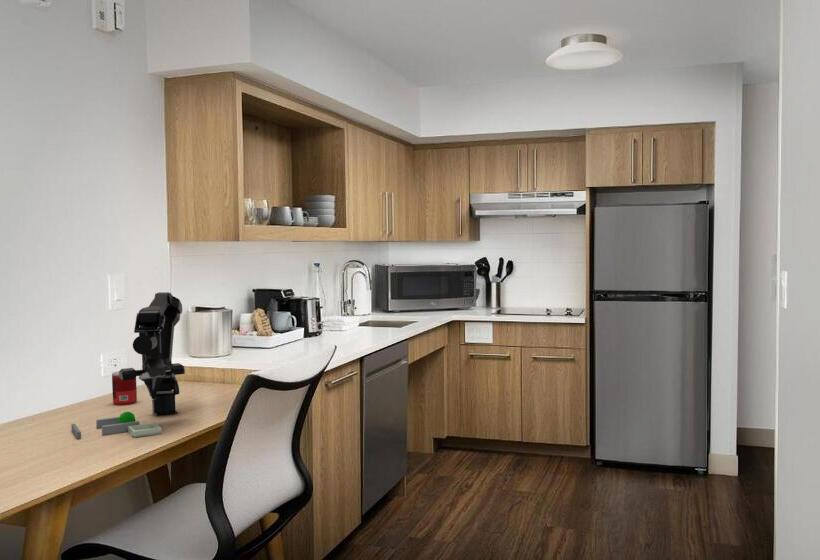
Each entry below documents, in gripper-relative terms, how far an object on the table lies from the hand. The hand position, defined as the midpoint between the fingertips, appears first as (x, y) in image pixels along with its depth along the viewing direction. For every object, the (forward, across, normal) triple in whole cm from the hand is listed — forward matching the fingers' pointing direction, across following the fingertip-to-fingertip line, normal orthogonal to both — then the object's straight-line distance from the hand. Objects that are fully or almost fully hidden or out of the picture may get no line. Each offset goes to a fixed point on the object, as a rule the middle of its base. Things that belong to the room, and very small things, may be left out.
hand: (153, 398), depth 235 cm
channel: (+8, -14, 0) cm, 16 cm away
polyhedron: (+8, -8, 0) cm, 11 cm away
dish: (+8, -5, -10) cm, 14 cm away
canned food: (+8, -2, +37) cm, 38 cm away
